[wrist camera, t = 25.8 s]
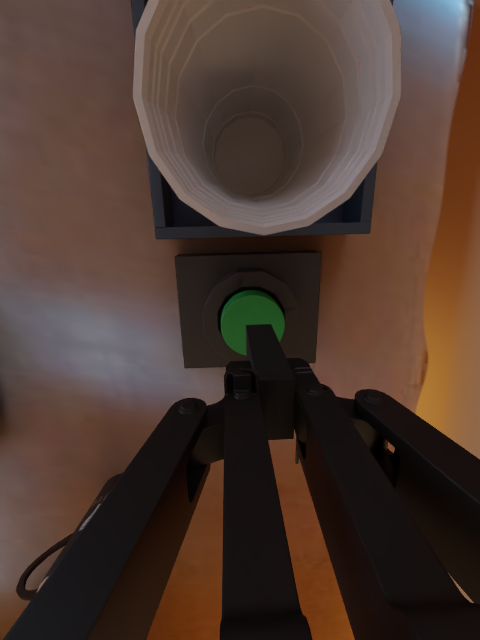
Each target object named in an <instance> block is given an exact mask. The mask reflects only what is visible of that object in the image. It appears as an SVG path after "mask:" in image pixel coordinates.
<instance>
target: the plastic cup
mask: <svg viewBox="0 0 480 640" xmlns="http://www.w3.org/2000/svg"><path fill="white" fill-rule="evenodd" d="M400 97H401V29H400V26H399V23H398V20H397V18H396V15H395V12H394V9H393V7H392V4H391V1H390V0H148V2H147V5H146V7H145V10H144V12H143V14H142V17H141V19H140V22H139V24H138V27H137V29H136V39H135V60H134V80H133V100H134V103H135V107H136V111H137V114H138V118H139V121H140V125H141V128H142V132H143V135H144V139H145V143H146V146H147V150H148V153H149V156H150V157H151V159H152V160H153V162H154V163H155V165H156V166H157V167H158V169H159V170H160V172H161V173H162V175H163V176H164V177H165V179H166V180H167V182H168V183H169V185H170V186H171V188H172V189H173V190H174V192H175V193H176V195H177V196H178V198H179V199H180V200H181V201H183V202H184V203H186V204H187V205H189V206H190V207H192V208H193V209H195V210H196V211H198V212H199V213H200V214H202V215H203V216H205V217H206V218H208V219H209V220H211V221H212V222H214V223H215V224H217V225H218V226H220V227H224V228H230V229H235V230H240V231H245V232H250V233H255V234H260V235H268V234H273V233H278V232H282V231H287V230H292V229H296V228H301V227H306V226H309V225H311V224H312V223H314V222H315V221H317V220H318V219H320V218H321V217H323V216H324V215H326V214H327V213H329V212H330V211H332V210H333V209H335V208H336V207H338V206H339V205H341V204H342V203H343V202H345V201H346V200H348V199H349V198H350V197H351V196H352V194H353V193H354V192H355V190H356V189H357V188H358V186H359V185H360V184H361V182H362V181H363V179H364V178H365V177H366V175H367V174H368V173H369V171H370V170H371V169H372V167H373V166H374V164H375V163H376V162H377V160H378V159H379V158H380V156H381V155H382V153H383V150H384V147H385V144H386V141H387V138H388V134H389V131H390V128H391V125H392V122H393V119H394V116H395V113H396V110H397V107H398V103H399V100H400Z"/></svg>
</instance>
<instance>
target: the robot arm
mask: <svg viewBox="0 0 480 640" xmlns="http://www.w3.org/2000/svg"><path fill="white" fill-rule="evenodd" d="M246 358H247V361H230V362H229V363H228V364H227V366H226V373H225V375H224V387H225V397H224V398H223V399H222V400H221V401H219V402H217V403H215V404H212V405H208V406H207V405H206V403H205V402H204V401H202V400H201V399H197V398H186V399H182V400H180V401H178V402H175V403H174V404H173V405H172V406H171V407H170V409H169V410H168V412H167V413H166V414H165V416H164V417H163V419H162V420H161V421H160V423H159V424H158V425H157V427H156V428H155V430H154V431H153V432H152V434H151V435H150V437H149V438H148V439H147V441H146V442H145V443H144V445H143V446H142V448H141V449H140V450H139V452H138V453H137V455H136V456H135V457H134V459H133V460H132V462H131V463H130V464H129V466H128V467H127V468H126V470H125V471H124V473H123V474H122V475H121V477H120V478H119V480H118V481H117V482H116V484H115V485H114V486H113V488H112V489H111V491H110V492H109V493H108V495H107V496H106V498H105V499H104V500H103V502H102V503H101V504H100V506H99V507H98V509H97V510H96V511H95V513H94V514H93V516H92V517H91V518H90V520H89V521H88V522H87V524H86V525H85V527H84V528H83V529H82V531H81V532H80V534H79V535H78V536H77V538H76V539H75V541H74V542H73V543H72V545H71V546H70V547H69V549H68V550H67V552H66V553H65V554H64V556H63V557H62V559H61V560H60V561H59V563H58V564H57V565H56V567H55V568H54V570H53V571H52V572H51V574H50V575H49V577H48V578H47V579H46V581H45V582H44V583H43V585H42V586H41V588H40V589H39V590H38V592H37V593H36V595H35V596H34V597H33V599H32V600H31V602H30V603H29V604H28V606H27V607H26V608H25V610H24V611H23V613H22V614H21V615H20V617H19V618H18V620H17V621H16V622H15V624H14V625H13V626H12V628H11V629H10V631H9V632H8V633H7V635H6V636H5V638H4V639H3V640H146V638H147V635H148V632H149V630H150V627H151V625H152V622H153V619H154V617H155V614H156V611H157V609H158V606H159V603H160V601H161V598H162V595H163V593H164V590H165V587H166V585H167V582H168V579H169V577H170V574H171V571H172V569H173V566H174V563H175V561H176V558H177V555H178V553H179V550H180V547H181V545H182V542H183V540H184V537H185V534H186V532H187V529H188V526H189V524H190V521H191V518H192V516H193V513H194V510H195V508H196V505H197V502H198V500H199V497H200V494H201V492H202V489H203V486H204V484H205V481H206V478H207V476H208V473H209V470H210V465H211V463H213V462H216V461H219V460H222V459H224V499H223V574H222V620H221V624H220V640H312V636H311V631H310V627H309V624H308V622H307V619H306V617H305V616H304V615H303V614H302V611H301V608H300V604H299V599H298V594H297V589H296V584H295V578H294V573H293V568H292V563H291V558H290V552H289V547H288V542H287V537H286V532H285V526H284V521H283V516H282V511H281V506H280V500H279V495H278V490H277V485H276V480H275V474H274V469H273V464H272V459H271V453H270V448H269V443H268V440H278V439H293V437H294V430H295V433H296V458H295V460H296V464H298V462H299V458H300V462H301V465H302V468H303V471H304V475H305V478H306V481H307V484H308V488H309V491H310V494H311V497H312V501H313V504H314V507H315V511H316V514H317V517H318V520H319V524H320V527H321V530H322V533H323V537H324V540H325V543H326V546H327V550H328V553H329V556H330V560H331V563H332V566H333V569H334V573H335V576H336V579H337V582H338V586H339V589H340V592H341V595H342V599H343V602H344V605H345V609H346V612H347V615H348V618H349V622H350V625H351V628H352V631H353V635H354V638H355V640H480V459H478V458H477V457H475V456H474V455H473V454H471V453H470V452H468V451H467V450H465V449H464V448H463V447H461V446H460V445H458V444H457V443H455V442H454V441H453V440H451V439H450V438H448V437H447V436H446V435H444V434H443V433H441V432H440V431H438V430H437V429H436V428H434V427H433V426H431V425H430V424H429V423H427V422H426V421H424V420H423V419H421V418H420V417H419V416H417V415H416V414H414V413H413V412H411V411H410V410H409V409H407V408H406V407H404V406H403V405H402V404H400V403H399V402H397V401H396V400H394V399H393V398H392V397H390V396H389V395H387V394H385V393H383V392H380V391H377V390H372V389H365V390H360V391H357V393H356V394H355V399H347V398H341V397H336V396H335V394H334V392H333V391H332V390H331V389H330V388H329V387H328V386H326V385H324V384H320V382H319V381H318V379H317V377H316V376H315V374H314V373H313V371H312V369H311V368H310V366H309V364H308V362H307V361H305V360H304V359H302V358H286V356H285V354H284V352H283V349H282V347H281V345H280V343H279V340H278V338H277V336H276V334H275V332H274V329H273V327H272V325H271V324H258V325H246ZM388 442H389V443H390V444H392V445H393V446H394V448H395V451H394V453H392V452H391V451H390V450H389V449H388V448H387V446H388ZM448 573H449V574H450V575H451V576H452V578H453V579H454V580H455V581H456V582H457V584H458V585H459V586H460V587H461V588H462V589H463V591H464V592H465V593H466V594H467V595H468V596H469V597H470V599H471V600H472V601H473V602H474V603H470V602H469V601H468V600H467V599H466V598H465V597H464V596H463V595H462V593H461V592H460V591H459V589H458V588H457V586H456V585H455V583H454V582H453V580H452V578H451V577H450V575H449V574H448Z"/></svg>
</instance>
